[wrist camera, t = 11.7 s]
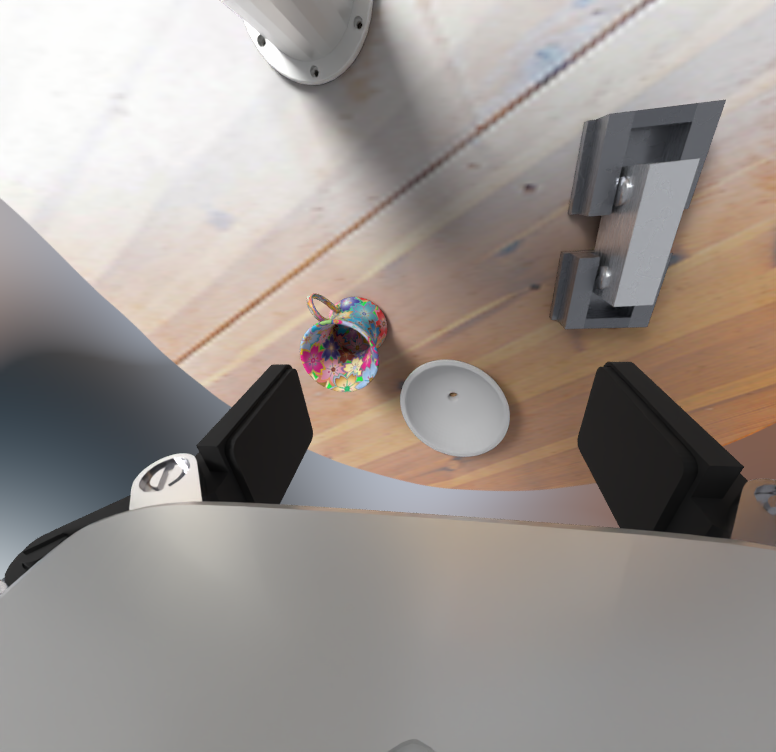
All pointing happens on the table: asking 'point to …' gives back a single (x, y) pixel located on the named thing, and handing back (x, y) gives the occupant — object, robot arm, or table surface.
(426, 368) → the dish
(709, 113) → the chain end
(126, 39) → the table surface
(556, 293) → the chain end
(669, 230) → the gray trapezoid plate
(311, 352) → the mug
